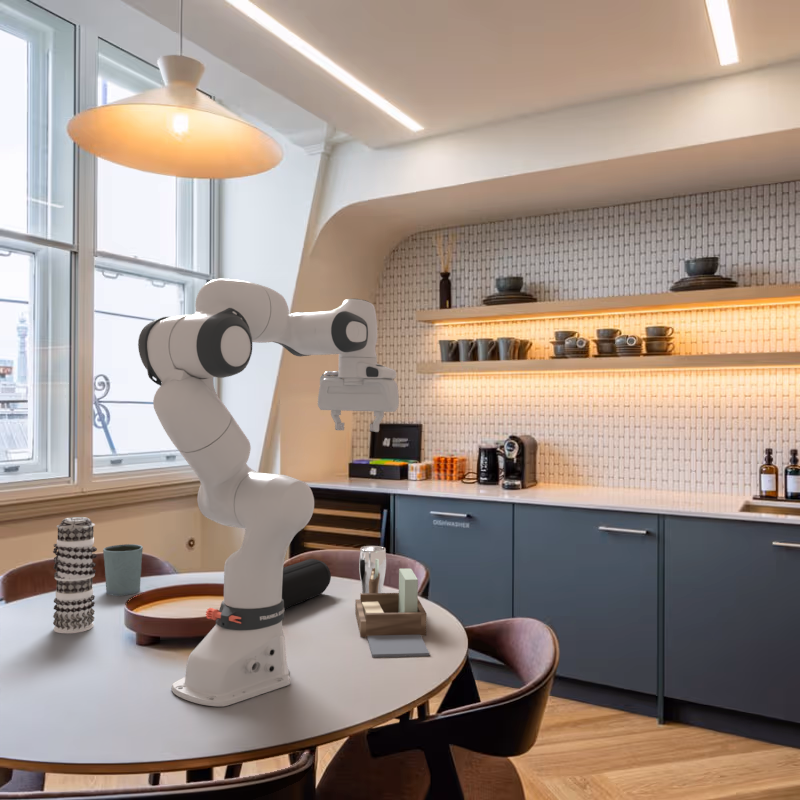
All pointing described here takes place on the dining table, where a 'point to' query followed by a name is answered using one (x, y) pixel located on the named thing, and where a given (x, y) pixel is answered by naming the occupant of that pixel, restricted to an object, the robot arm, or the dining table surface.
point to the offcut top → (371, 607)
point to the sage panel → (407, 591)
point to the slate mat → (397, 645)
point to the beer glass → (372, 568)
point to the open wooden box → (389, 617)
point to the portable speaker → (304, 581)
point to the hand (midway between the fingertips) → (356, 431)
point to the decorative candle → (74, 576)
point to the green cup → (123, 569)
